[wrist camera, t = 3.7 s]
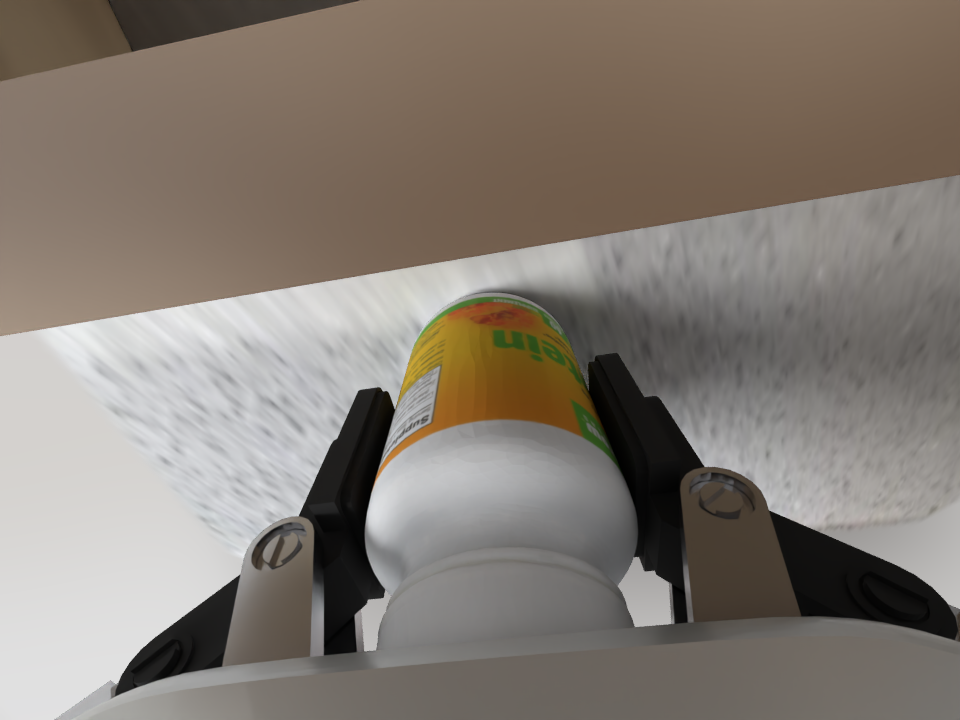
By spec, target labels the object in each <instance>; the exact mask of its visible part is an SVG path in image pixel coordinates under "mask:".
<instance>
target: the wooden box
mask: <svg viewBox="0 0 960 720" xmlns="http://www.w3.org/2000/svg"><path fill="white" fill-rule="evenodd" d="M955 175H960V0H361V1H356V2H352V3H347V4H343V5H338V6H334V7H330V8H325V9H321V10H316V11H312V12H307V13H303V14H298V15H294V16H290V17H285V18H281V19H276V20H272V21H267V22H263V23H258V24H254V25H249V26H245V27H241V28H236V29H232V30H227V31H223V32H218V33H214V34H209V35H205V36H201V37H196V38H192V39H187V40H183V41H178V42H174V43H169V44H165V45H161V46H156V47H152V48H147V49H143V50H138V51H134V52H132V50H131V47H130V45H129V43H128V41H127V39H126V37H125V35H124V33H123V31H122V29H121V27H120V25H119V23H118V21H117V19H116V17H115V15H114V12H113V10H112V8H111V6H110V4H109V2H108V0H0V336H4V335H10V334H16V333H22V332H28V331H34V330H40V329H46V328H52V327H58V326H64V325H70V324H76V323H82V322H88V321H94V320H99V319H105V318H111V317H117V316H123V315H129V314H135V313H141V312H147V311H153V310H159V309H165V308H171V307H177V306H183V305H189V304H195V303H200V302H206V301H212V300H218V299H224V298H230V297H236V296H242V295H248V294H254V293H260V292H266V291H272V290H278V289H284V288H290V287H296V286H302V285H307V284H313V283H319V282H325V281H331V280H337V279H343V278H349V277H355V276H361V275H367V274H373V273H379V272H385V271H391V270H397V269H403V268H408V267H414V266H420V265H426V264H432V263H438V262H444V261H450V260H456V259H462V258H468V257H474V256H480V255H486V254H492V253H498V252H504V251H509V250H515V249H521V248H527V247H533V246H539V245H545V244H551V243H557V242H563V241H569V240H575V239H581V238H587V237H593V236H599V235H605V234H611V233H616V232H622V231H628V230H634V229H640V228H646V227H652V226H658V225H664V224H670V223H676V222H682V221H688V220H694V219H700V218H706V217H712V216H717V215H723V214H729V213H735V212H741V211H747V210H753V209H759V208H765V207H771V206H777V205H783V204H789V203H795V202H801V201H807V200H813V199H818V198H824V197H830V196H836V195H842V194H848V193H854V192H860V191H866V190H872V189H878V188H884V187H890V186H896V185H902V184H908V183H914V182H920V181H925V180H931V179H937V178H943V177H949V176H955Z"/></svg>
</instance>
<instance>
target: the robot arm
mask: <svg viewBox="0 0 960 720" xmlns="http://www.w3.org/2000/svg"><path fill="white" fill-rule="evenodd" d="M588 375H589V393H590V395H591V398H592V400H593V403H594V405H595V408H596V410H597V413H598V415H599V418H600V420H601V423H602V425H603V427H604V430H605V432H606V435H607V437H608V440H609V442H610V444H611V447H612V449H613V452H614V454H615V456H616V459H617V461H618V464H619V466H620V468H621V470H622V473H623V475H624V478H625V481H626V483H627V486H628V488H629V491H630V494H631V497H632V500H633V503H634V506H635V510H636V515H637V524H638V538H637V546H636V550H635V554H634V557H639V558H640V560H641V563H642V566H643V568H644V571H654V570H655V572H656V575H658V576H660V577H661V578H663V579H664V580H666V581H668V582H669V592H670V608H671V624H669V625H656V626H645V627H633V628H621V629H610V630H598V631H586V632H574V633H563V634H551V635H540V636H529V637H518V638H507V639H496V640H484V641H473V642H463V643H452V644H441V645H430V646H419V647H408V648H398V649H387V650H377V651H367V652H364V642H363V629H362V616H361V609H362V608H363V607H364V606H365V605H366V603H367V601H368V599H378V598H383V597H384V593H385V588H384V587H383V586H382V585H381V583H380V582H379V580H378V578H377V577H376V575H375V574H374V572H373V569H372V567H371V564H370V562H369V559H368V556H367V552H366V545H365V524H366V516H367V511H368V507H369V502H370V497H371V493H372V489H373V486H374V482H375V479H376V475H377V472H378V469H379V465H380V462H381V459H382V455H383V451H384V448H385V444H386V441H387V437H388V434H389V430H390V427H391V423H392V420H393V416H394V413H395V409H394V406H393V403H392V400H391V397H390V395H389V393H388V392H387V391H385V392H383V391H382V389H381V388H379V387H377V388H370V389H363V390H359V391H358V393H357V395H356V398H355V400H354V402H353V404H352V407H351V409H350V411H349V413H348V416H347V418H346V420H345V422H344V425H343V427H342V429H341V432H340V434H339V436H338V438H337V439H336V440H334V441H333V443H332V444H331V446H330V448H329V450H328V453H327V455H326V457H325V459H324V461H323V464H322V466H321V468H320V470H319V472H318V475H317V477H316V479H315V481H314V484H313V486H312V488H311V490H310V492H309V495H308V497H307V499H306V501H305V503H304V506H303V508H302V510H301V512H300V514H299V517H289V518H285V519H282V520H280V521H277V522H275V523H273V524H272V525H270V526H269V527H267V528H266V529H265V530H263V531H262V532H261V533H260V534H259V535H258V536H257V537H256V538H255V539H254V540H253V541H252V543H251V544H250V546H249V547H248V549H247V551H246V554H245V557H244V560H243V565H242V570H241V574H240V575H239V576H238V577H236V578H235V579H234V580H232V581H231V582H230V583H228V584H227V585H226V586H224V587H223V588H222V589H220V590H219V591H217V592H216V593H215V594H214V595H212V596H211V597H209V598H208V599H207V600H205V601H204V602H202V603H201V604H200V605H198V606H197V607H196V608H194V609H193V610H192V611H190V612H189V613H188V614H186V615H185V616H184V617H182V618H181V619H180V620H178V621H177V622H176V623H174V624H173V625H172V626H170V627H169V628H167V629H166V630H165V631H163V632H162V633H161V634H159V635H158V636H157V637H155V638H154V639H153V640H152V641H150V642H149V643H148V644H147V645H146V646H145V647H143V648H142V649H141V650H140V652H139V653H138V654H137V655H136V656H135V657H134V658H133V660H132V661H131V662H130V663H129V665H128V666H127V668H126V669H125V671H124V673H123V674H122V676H121V678H120V681H119V683H117V684H115V683H113V682H112V681H109V682H107V683H106V684H105V685H103V686H102V687H100V688H99V689H98V690H96V691H95V692H93V693H92V694H91V695H89V696H88V697H86V698H85V699H83V700H82V701H80V702H79V703H78V704H76V705H75V706H74V707H72V708H71V709H69V710H68V711H66V712H65V713H63V714H62V715H61V716H59V717H58V718H56V719H55V720H960V609H958V608H956V607H953V606H951V605H948V604H947V602H946V601H945V600H944V599H943V598H942V597H941V596H940V595H939V594H938V593H937V592H936V591H935V590H934V589H933V588H932V587H931V586H929V585H928V584H926V583H925V582H924V581H923V580H921V579H920V578H918V577H917V576H916V575H914V574H912V573H910V572H908V571H906V570H904V569H902V568H900V567H898V566H897V565H894V564H892V563H890V562H887V561H885V560H883V559H880V558H878V557H876V556H873V555H871V554H869V553H866V552H864V551H862V550H860V549H857V548H855V547H852V546H850V545H847V544H845V543H843V542H841V541H839V540H836V539H834V538H832V537H829V536H827V535H825V534H822V533H820V532H818V531H815V530H813V529H811V528H808V527H806V526H804V525H801V524H799V523H797V522H794V521H792V520H790V519H787V518H785V517H783V516H780V515H778V514H776V513H774V512H771V511H769V510H768V506H767V503H766V500H765V498H764V496H763V494H762V492H761V490H760V489H759V488H758V487H757V486H756V485H755V484H754V483H753V482H752V481H750V480H748V479H747V478H745V477H744V476H742V475H741V474H738V473H736V472H733V471H731V470H728V469H723V468H718V467H704V465H703V464H702V462H701V461H700V459H699V458H698V456H697V455H696V453H695V452H694V450H693V449H692V447H691V445H690V444H689V442H688V441H687V439H686V438H685V436H684V435H683V433H682V432H681V430H680V429H679V427H678V426H677V424H676V423H675V421H674V420H673V418H672V416H671V415H670V413H669V412H668V410H667V409H666V407H665V406H664V404H663V403H662V401H661V400H660V399H659V398H658V397H657V396H652V397H644V396H643V395H642V393H641V391H640V390H639V388H638V386H637V385H636V383H635V381H634V380H633V378H632V376H631V375H630V373H629V371H628V370H627V368H626V366H625V365H624V363H623V361H622V360H621V358H620V356H619V355H618V354H617V353H612V354H605V355H598V356H596V357H595V361H594V362H589V363H588Z"/></svg>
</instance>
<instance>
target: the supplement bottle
mask: <svg viewBox="0 0 960 720" xmlns="http://www.w3.org/2000/svg"><path fill="white" fill-rule="evenodd" d="M637 538H638V524H637V515H636V510H635V506H634V503H633V500H632V497H631V494H630V491H629V488H628V486H627V483H626V481H625V478H624V475H623V473H622V470H621V468H620V466H619V464H618V461H617V459H616V456H615V454H614V452H613V449H612V447H611V444H610V442H609V440H608V437H607V435H606V432H605V430H604V427H603V425H602V423H601V420H600V418H599V415H598V413H597V410H596V408H595V405H594V403H593V400H592V398H591V395H590V393H589V390H588V388H587V386H586V383H585V380H584V378H583V375H582V373H581V370H580V368H579V365H578V363H577V360H576V358H575V355H574V353H573V350H572V347H571V345H570V343H569V340H568V339H567V337H566V335H565V333H564V331H563V329H562V328H561V326H560V325H559V323H558V322H557V321H556V320H555V318H554V317H553V316H552V315H551V314H549V313H548V312H547V311H546V310H544V309H543V308H542V307H540V306H539V305H537V304H535V303H534V302H532V301H530V300H527V299H525V298H522V297H519V296H516V295H511V294H506V293H480V294H474V295H470V296H466V297H463V298H461V299H458V300H456V301H454V302H452V303H450V304H448V305H447V306H445V307H444V308H442V309H441V310H440V311H439V312H437V313H436V314H435V315H434V316H433V317H432V318H431V319H430V320H429V321H428V322H427V323H426V325H425V326H424V327H423V329H422V330H421V332H420V334H419V336H418V338H417V340H416V342H415V345H414V347H413V350H412V353H411V356H410V360H409V363H408V367H407V371H406V374H405V378H404V381H403V384H402V388H401V391H400V395H399V399H398V402H397V405H396V409H395V413H394V416H393V420H392V423H391V427H390V430H389V434H388V437H387V441H386V444H385V448H384V451H383V455H382V459H381V462H380V465H379V469H378V472H377V475H376V479H375V482H374V486H373V489H372V493H371V497H370V502H369V507H368V511H367V516H366V524H365V545H366V552H367V556H368V559H369V562H370V564H371V567H372V569H373V572H374V574H375V575H376V577H377V578H378V580H379V582H380V583H381V585H382V586H383V587H384V588H385V590H386V591H387V592H388V593H389V594H390V595H391V596H392V597H391V599H390V601H389V603H388V606H387V610H386V612H385V614H384V616H383V618H382V621H381V624H380V628H379V632H378V643H377V649H376V651H377V650H387V649H398V648H408V647H419V646H430V645H441V644H452V643H463V642H473V641H484V640H496V639H507V638H518V637H529V636H540V635H551V634H563V633H574V632H586V631H598V630H610V629H621V628H633V627H634V624H633V620H632V618H631V615H630V613H629V611H628V609H627V606H626V602H625V599H624V597H623V594H622V592H621V591H620V589H619V588H618V584H619V583H620V582H621V580H622V579H623V577H624V575H625V574H626V572H627V571H628V569H629V567H630V565H631V563H632V560H633V557H634V554H635V550H636V546H637Z"/></svg>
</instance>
